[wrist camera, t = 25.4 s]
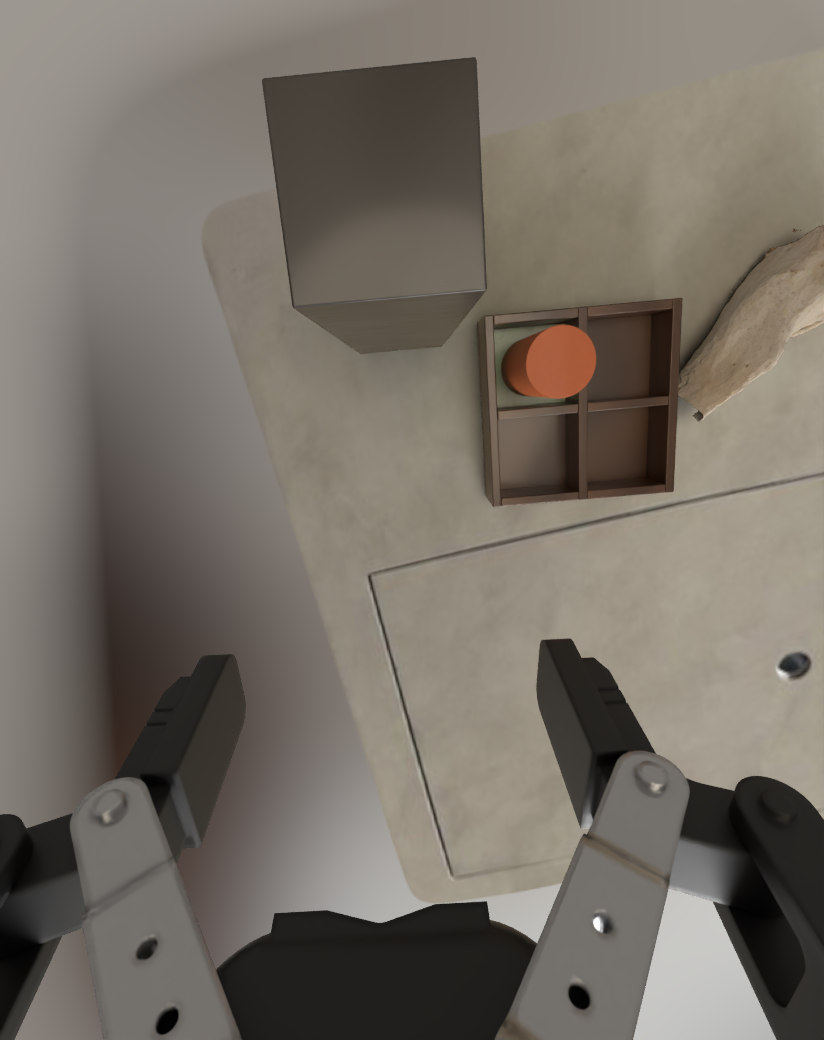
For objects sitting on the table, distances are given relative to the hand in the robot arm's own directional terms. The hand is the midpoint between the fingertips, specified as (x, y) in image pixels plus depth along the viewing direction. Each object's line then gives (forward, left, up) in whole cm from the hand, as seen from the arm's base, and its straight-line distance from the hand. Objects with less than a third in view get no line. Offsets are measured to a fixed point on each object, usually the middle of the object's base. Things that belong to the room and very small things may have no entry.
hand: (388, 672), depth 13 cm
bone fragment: (+26, +9, -27) cm, 38 cm away
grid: (+13, +5, -27) cm, 30 cm away
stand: (+1, +13, -27) cm, 30 cm away
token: (+10, +8, -26) cm, 29 cm away
